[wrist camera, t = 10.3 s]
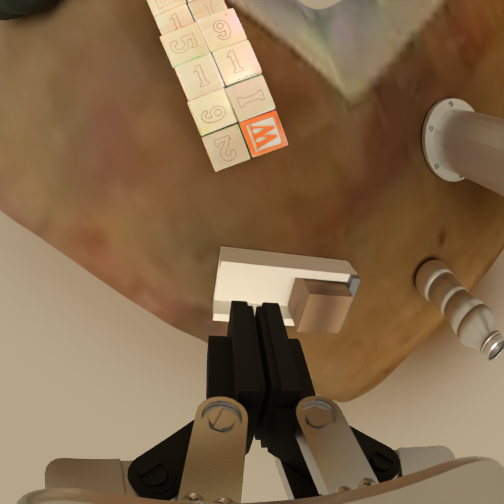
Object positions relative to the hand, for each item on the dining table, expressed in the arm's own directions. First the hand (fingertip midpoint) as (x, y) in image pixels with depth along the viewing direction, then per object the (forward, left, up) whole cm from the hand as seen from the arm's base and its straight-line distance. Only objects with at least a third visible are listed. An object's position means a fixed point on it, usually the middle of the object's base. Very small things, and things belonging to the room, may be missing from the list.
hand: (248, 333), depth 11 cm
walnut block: (-14, +14, -27) cm, 33 cm away
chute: (-10, +14, -28) cm, 33 cm away
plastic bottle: (-35, +10, -28) cm, 46 cm away
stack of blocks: (+4, -13, -28) cm, 31 cm away
